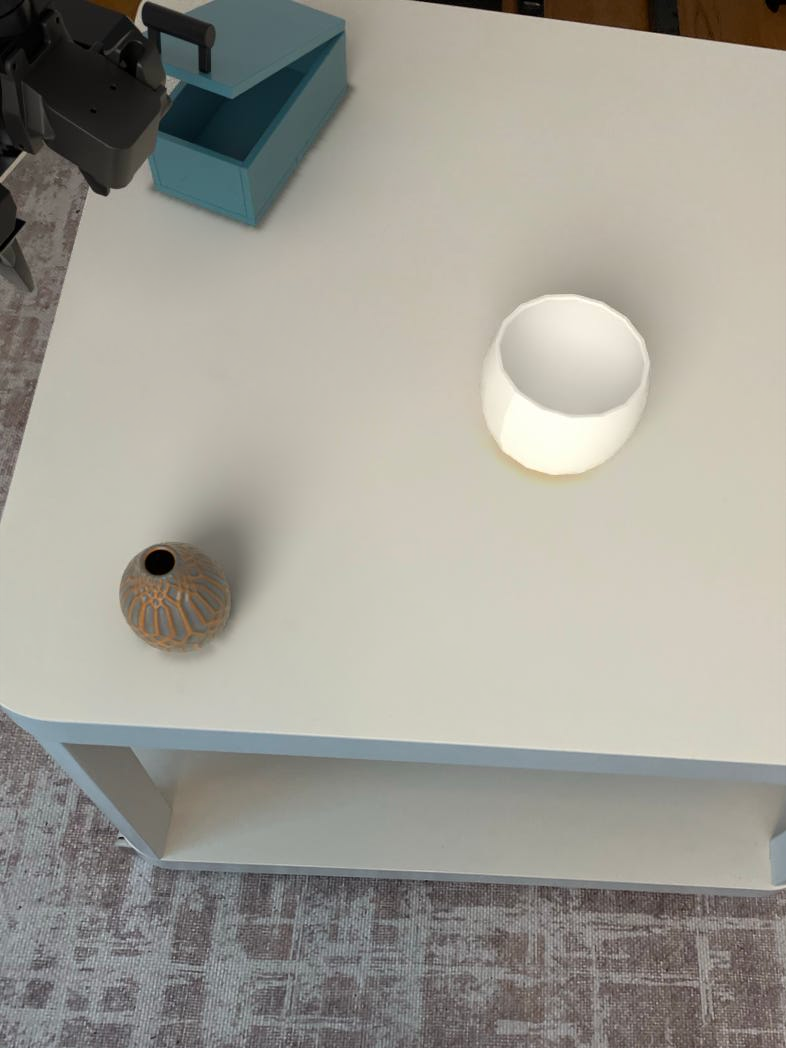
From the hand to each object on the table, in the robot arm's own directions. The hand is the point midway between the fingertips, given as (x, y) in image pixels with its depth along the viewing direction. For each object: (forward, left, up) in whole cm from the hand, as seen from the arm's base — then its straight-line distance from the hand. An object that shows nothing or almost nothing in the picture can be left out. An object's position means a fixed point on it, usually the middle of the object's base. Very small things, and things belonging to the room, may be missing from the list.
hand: (65, 239), depth 59 cm
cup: (+34, -3, -13) cm, 37 cm away
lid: (+8, +27, -4) cm, 28 cm away
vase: (+8, -21, -13) cm, 26 cm away
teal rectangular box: (+8, +27, -13) cm, 31 cm away
